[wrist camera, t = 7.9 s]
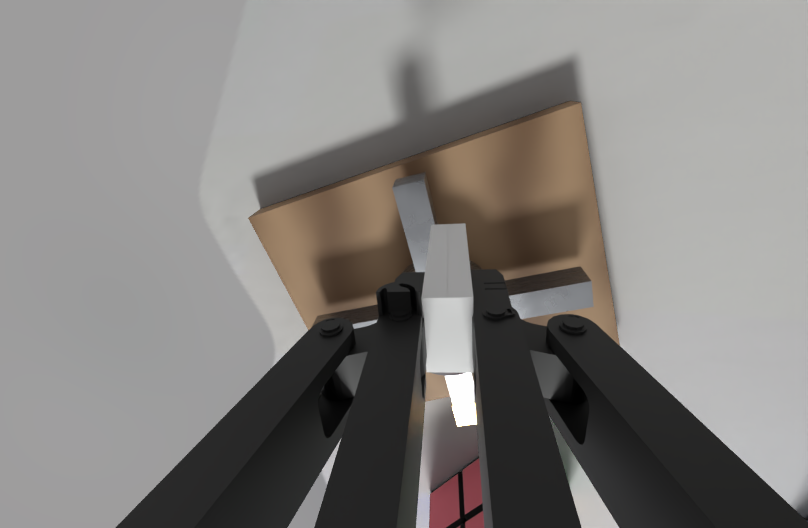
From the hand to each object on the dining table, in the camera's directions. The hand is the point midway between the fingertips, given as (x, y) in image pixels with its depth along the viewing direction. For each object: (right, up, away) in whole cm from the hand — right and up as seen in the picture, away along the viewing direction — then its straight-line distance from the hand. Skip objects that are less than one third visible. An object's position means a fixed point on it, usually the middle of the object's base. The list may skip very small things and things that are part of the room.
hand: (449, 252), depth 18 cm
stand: (+1, -2, +12) cm, 12 cm away
